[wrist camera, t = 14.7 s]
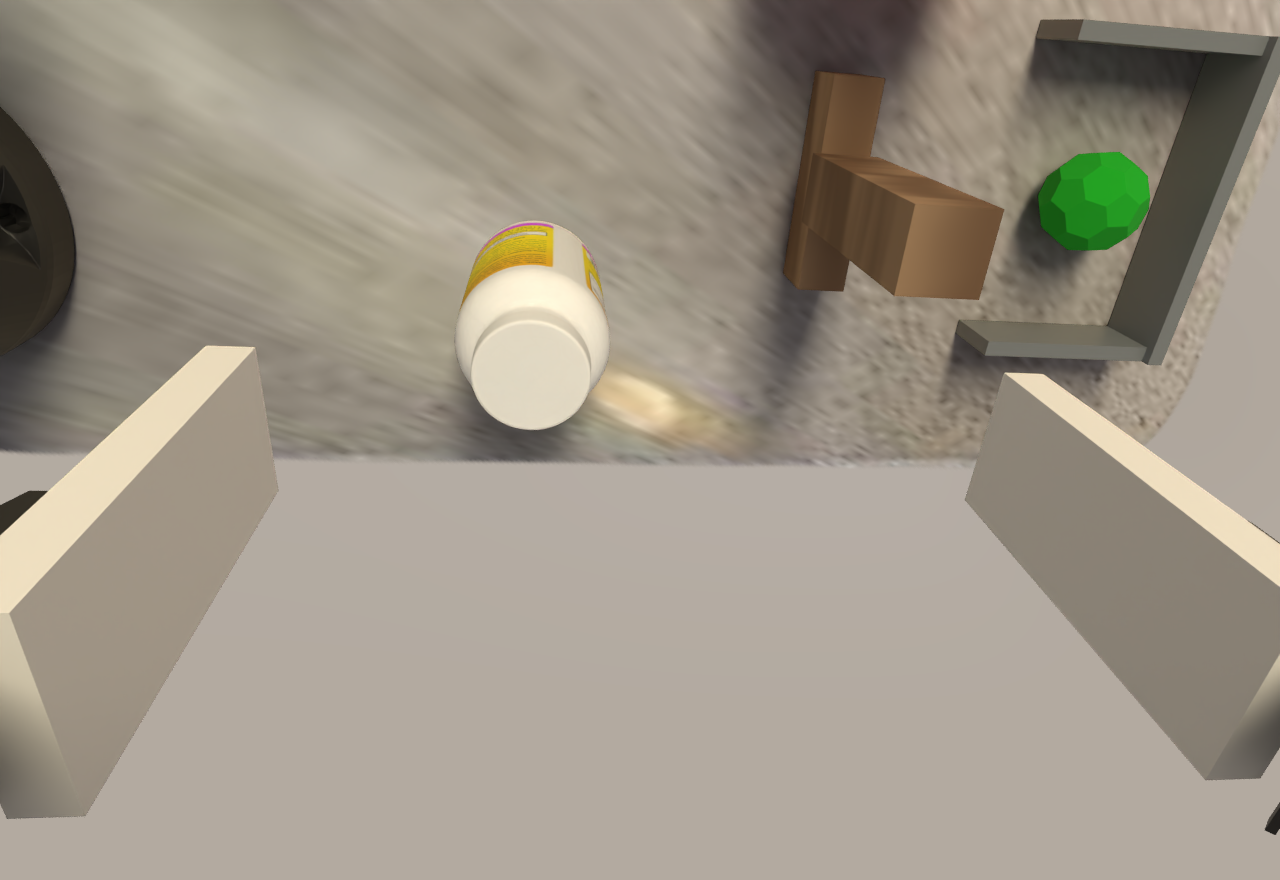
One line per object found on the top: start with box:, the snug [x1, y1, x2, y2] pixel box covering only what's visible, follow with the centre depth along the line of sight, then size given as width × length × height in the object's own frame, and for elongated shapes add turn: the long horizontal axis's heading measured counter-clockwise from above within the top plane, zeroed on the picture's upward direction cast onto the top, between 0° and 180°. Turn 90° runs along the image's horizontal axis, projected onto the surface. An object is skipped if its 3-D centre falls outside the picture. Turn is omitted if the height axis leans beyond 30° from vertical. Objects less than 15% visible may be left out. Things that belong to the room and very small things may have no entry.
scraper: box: [783, 71, 1004, 300], centre depth 34 cm, size 3×10×15 cm, turn 176°
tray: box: [956, 19, 1280, 365], centre depth 41 cm, size 10×16×4 cm, turn 176°
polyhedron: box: [1038, 152, 1150, 250], centre depth 40 cm, size 5×5×5 cm
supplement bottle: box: [455, 221, 610, 430], centre depth 36 cm, size 7×7×13 cm
